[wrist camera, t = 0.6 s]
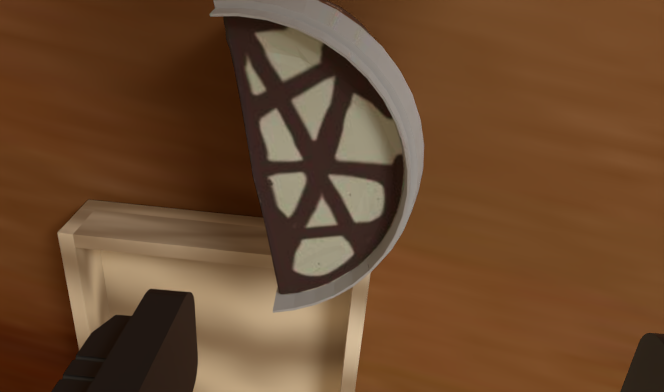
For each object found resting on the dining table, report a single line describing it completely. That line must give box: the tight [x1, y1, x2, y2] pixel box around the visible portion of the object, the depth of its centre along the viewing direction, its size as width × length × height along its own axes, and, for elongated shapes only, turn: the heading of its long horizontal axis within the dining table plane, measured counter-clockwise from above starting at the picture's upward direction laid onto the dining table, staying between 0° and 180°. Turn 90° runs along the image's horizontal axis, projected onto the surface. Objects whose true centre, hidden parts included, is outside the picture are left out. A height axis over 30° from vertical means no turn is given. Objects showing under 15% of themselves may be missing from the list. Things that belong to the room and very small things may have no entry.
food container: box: [210, 0, 424, 313], centre depth 23 cm, size 12×6×10 cm, turn 7°
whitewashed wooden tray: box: [58, 200, 370, 392], centre depth 34 cm, size 16×16×4 cm
